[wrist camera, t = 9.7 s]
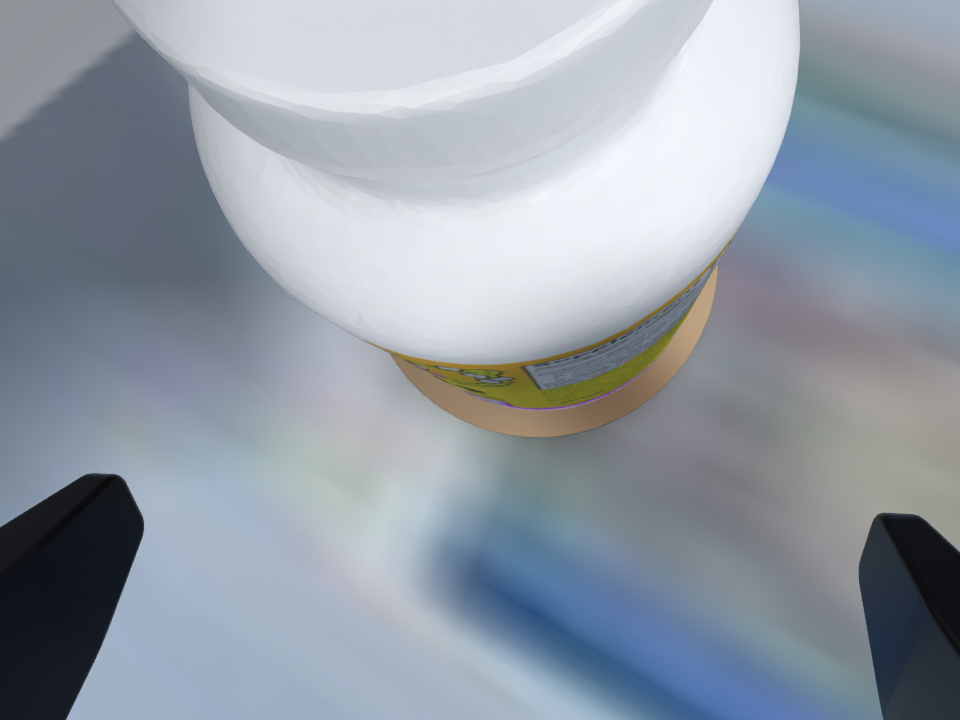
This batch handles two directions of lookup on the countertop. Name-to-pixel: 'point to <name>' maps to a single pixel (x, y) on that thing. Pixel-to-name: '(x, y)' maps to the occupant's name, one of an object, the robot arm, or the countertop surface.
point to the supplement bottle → (488, 167)
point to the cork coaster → (579, 416)
